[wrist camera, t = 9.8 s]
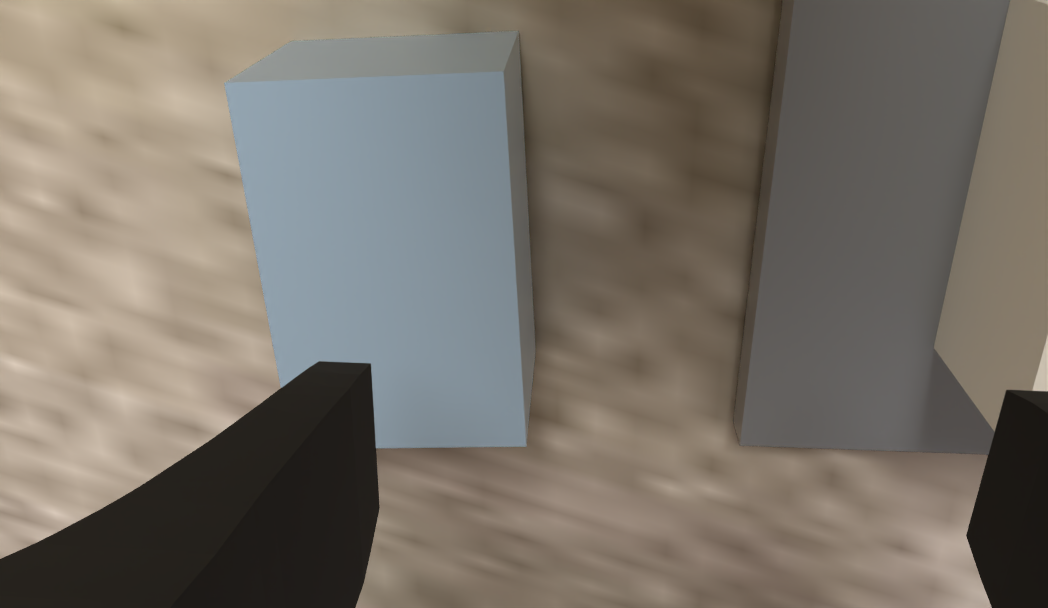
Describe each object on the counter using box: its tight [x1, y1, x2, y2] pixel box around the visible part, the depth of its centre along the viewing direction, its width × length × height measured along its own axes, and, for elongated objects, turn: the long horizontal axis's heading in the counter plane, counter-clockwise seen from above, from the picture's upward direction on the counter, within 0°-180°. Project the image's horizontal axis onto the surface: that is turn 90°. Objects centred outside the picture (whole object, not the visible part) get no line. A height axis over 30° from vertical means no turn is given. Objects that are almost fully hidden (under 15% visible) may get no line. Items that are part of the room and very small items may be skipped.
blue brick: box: [224, 31, 536, 448], centre depth 18 cm, size 7×4×4 cm, turn 3°
